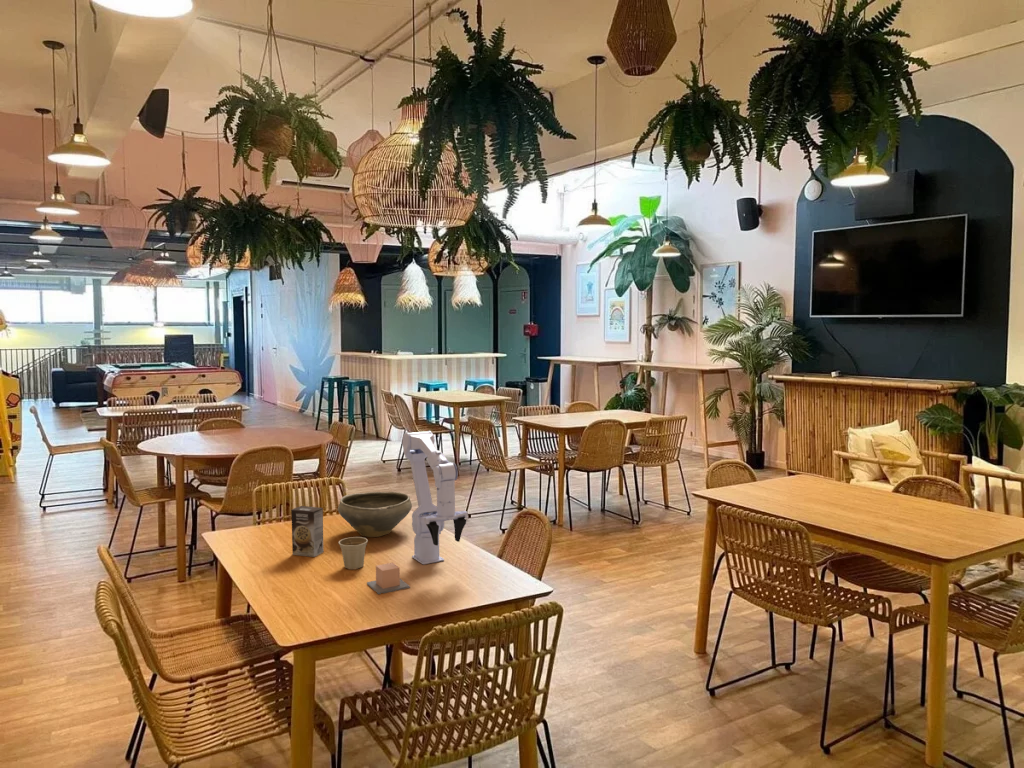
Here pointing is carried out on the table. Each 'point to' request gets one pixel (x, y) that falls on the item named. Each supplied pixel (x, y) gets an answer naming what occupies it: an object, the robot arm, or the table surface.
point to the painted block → (387, 575)
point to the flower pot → (353, 551)
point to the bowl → (374, 511)
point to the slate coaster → (389, 589)
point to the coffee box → (307, 531)
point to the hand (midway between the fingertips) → (446, 542)
